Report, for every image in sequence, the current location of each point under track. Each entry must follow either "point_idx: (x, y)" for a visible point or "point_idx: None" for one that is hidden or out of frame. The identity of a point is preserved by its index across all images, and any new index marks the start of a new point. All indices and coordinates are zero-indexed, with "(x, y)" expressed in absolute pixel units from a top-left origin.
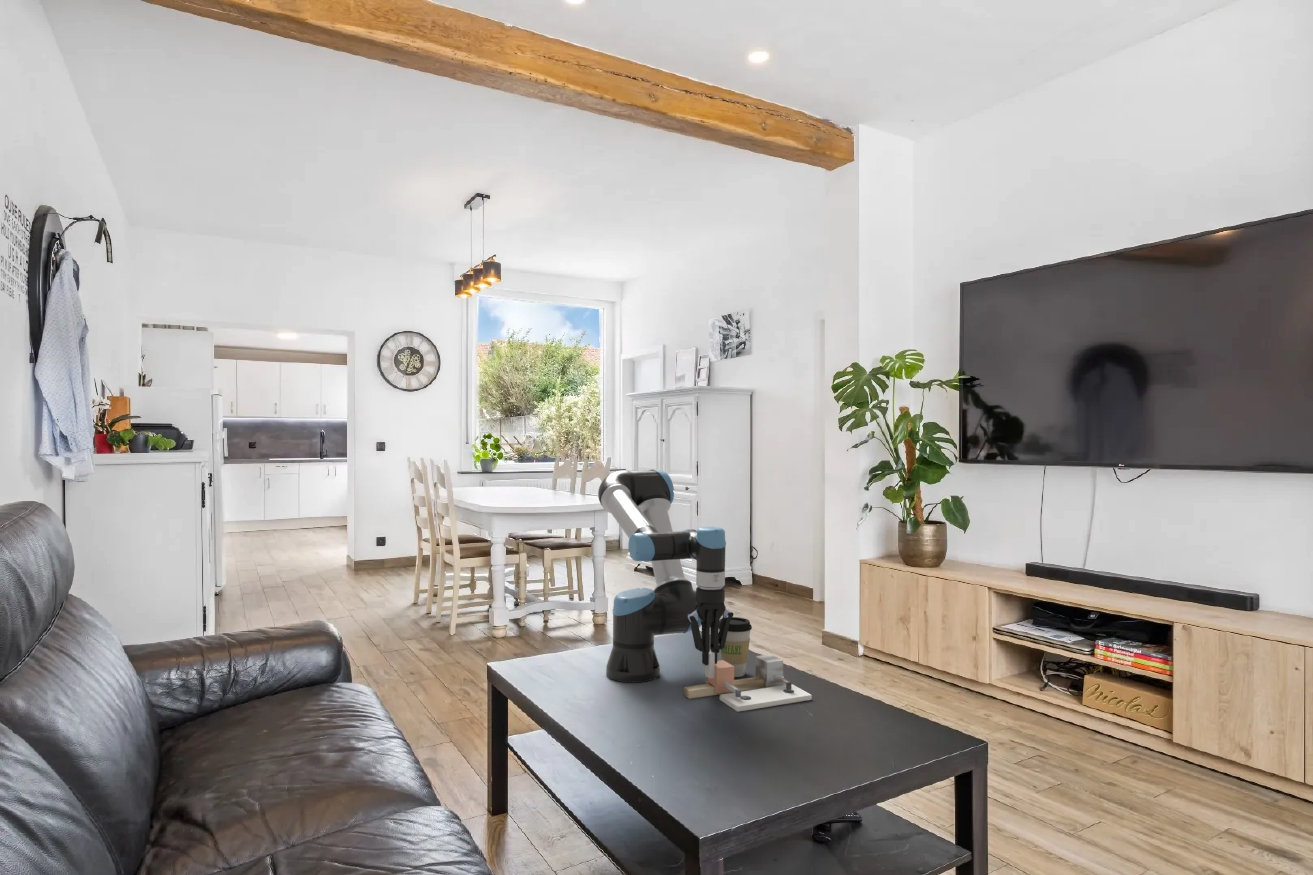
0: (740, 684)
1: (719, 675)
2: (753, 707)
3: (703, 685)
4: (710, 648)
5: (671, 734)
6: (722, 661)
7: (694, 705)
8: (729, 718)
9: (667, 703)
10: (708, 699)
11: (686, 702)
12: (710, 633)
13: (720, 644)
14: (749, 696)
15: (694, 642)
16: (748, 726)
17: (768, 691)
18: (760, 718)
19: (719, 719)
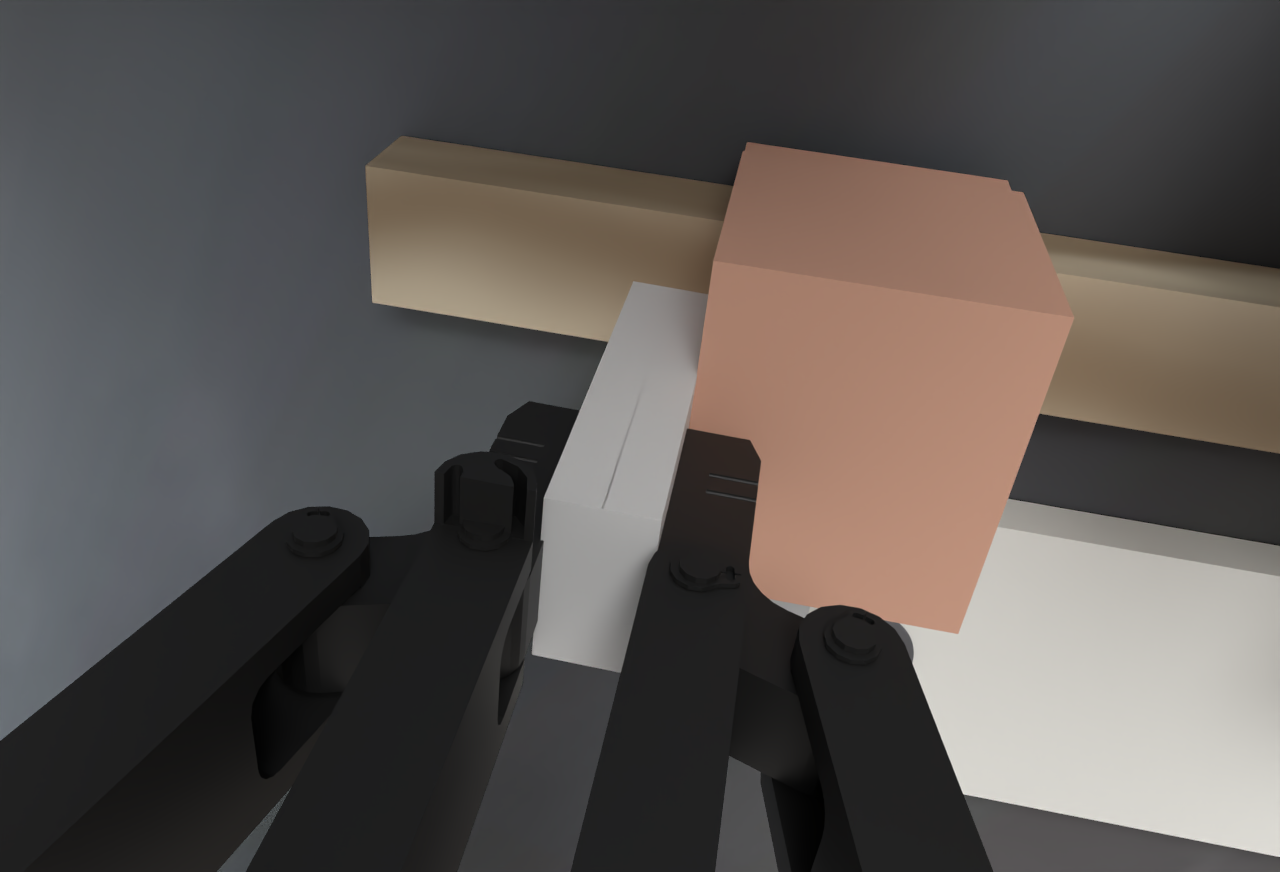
0: (1095, 417)
1: None
2: None
3: (626, 241)
4: (649, 567)
5: (30, 708)
6: (993, 378)
7: (378, 429)
8: (515, 741)
9: (143, 257)
10: (585, 383)
11: (336, 333)
12: (575, 853)
13: (770, 803)
14: (913, 652)
15: (181, 608)
16: (558, 867)
17: (1216, 653)
18: (723, 842)
19: None
